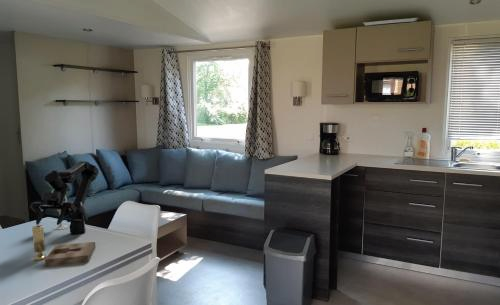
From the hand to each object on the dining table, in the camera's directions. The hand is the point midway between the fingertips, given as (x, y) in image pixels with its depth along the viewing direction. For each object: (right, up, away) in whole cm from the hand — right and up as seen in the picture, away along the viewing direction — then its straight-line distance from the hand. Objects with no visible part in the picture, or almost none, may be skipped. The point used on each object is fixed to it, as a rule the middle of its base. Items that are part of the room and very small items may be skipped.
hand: (47, 224), depth 162 cm
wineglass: (-12, -9, +36) cm, 39 cm away
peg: (0, -14, -5) cm, 14 cm away
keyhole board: (+12, -13, -4) cm, 18 cm away
